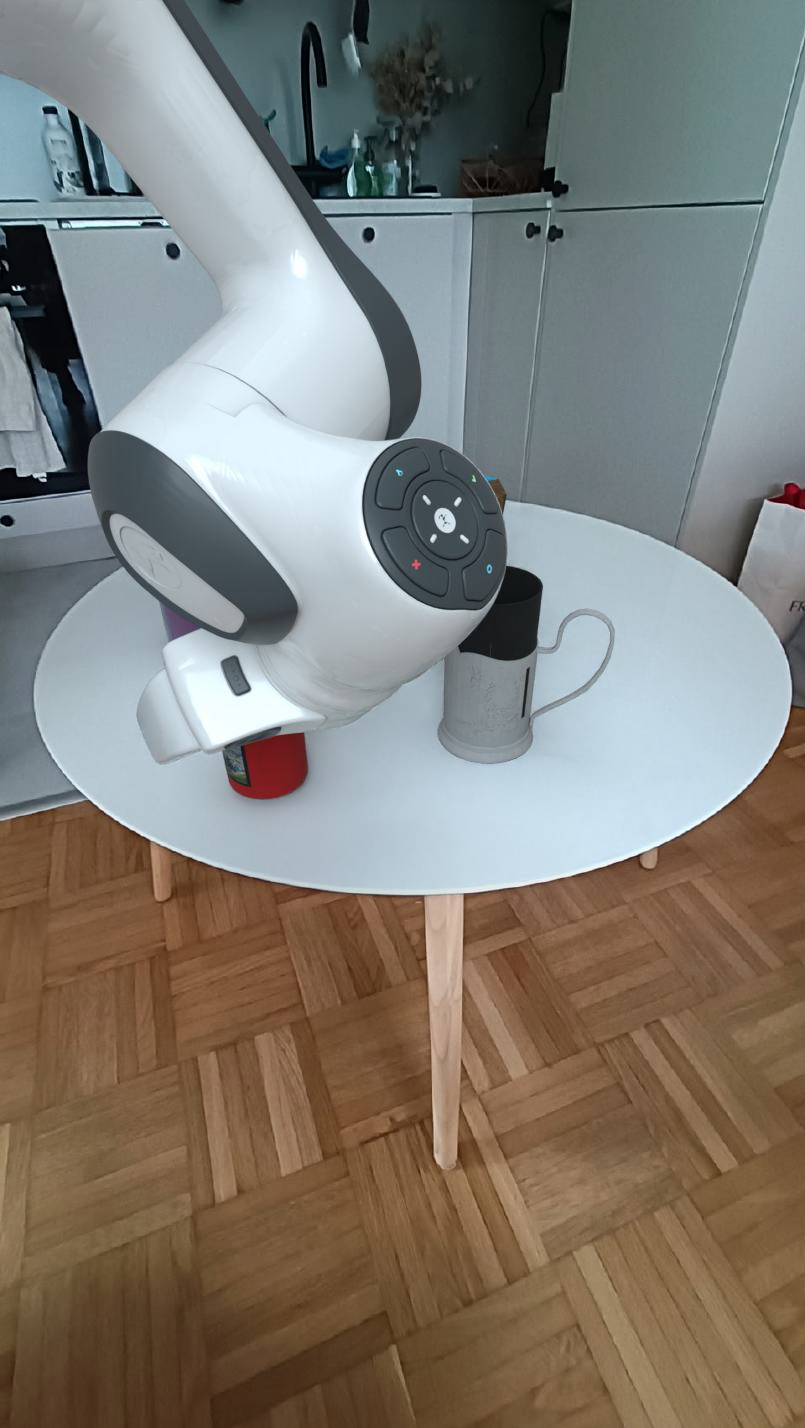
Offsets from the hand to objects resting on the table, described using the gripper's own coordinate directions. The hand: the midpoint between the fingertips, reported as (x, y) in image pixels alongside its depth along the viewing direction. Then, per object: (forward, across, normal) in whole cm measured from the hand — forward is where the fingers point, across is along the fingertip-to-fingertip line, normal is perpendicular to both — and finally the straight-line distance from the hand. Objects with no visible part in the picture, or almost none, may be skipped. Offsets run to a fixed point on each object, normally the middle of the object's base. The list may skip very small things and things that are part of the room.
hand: (271, 708), depth 54 cm
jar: (+27, -7, -14) cm, 31 cm away
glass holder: (+3, -21, +10) cm, 23 cm away
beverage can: (+8, 0, +4) cm, 9 cm away
